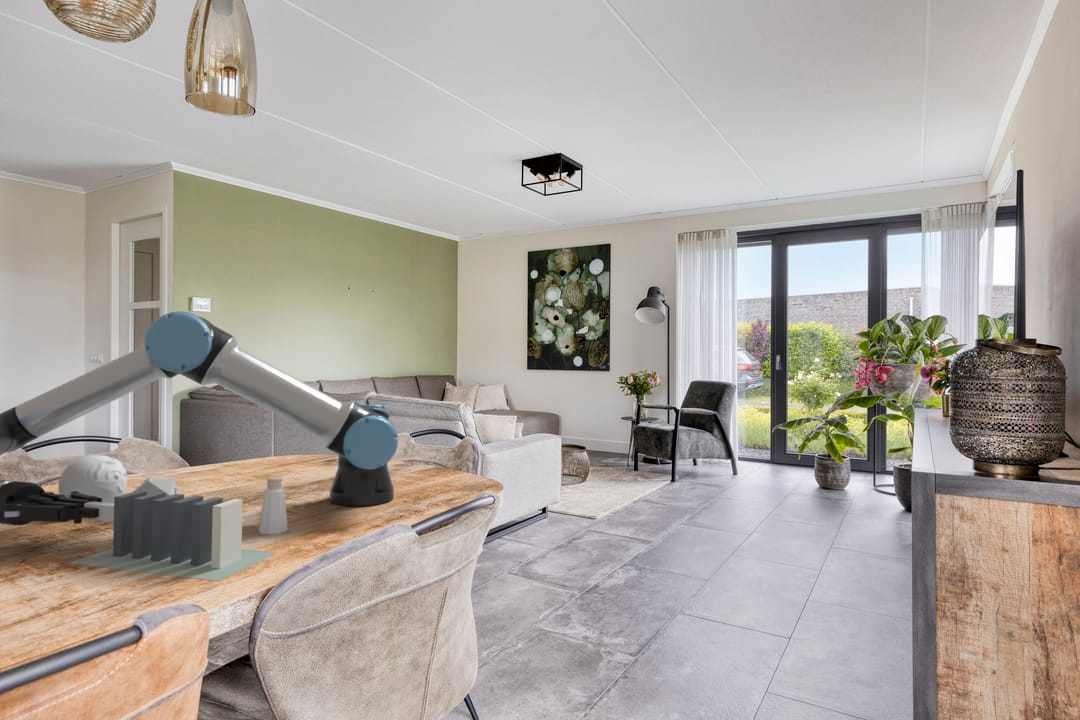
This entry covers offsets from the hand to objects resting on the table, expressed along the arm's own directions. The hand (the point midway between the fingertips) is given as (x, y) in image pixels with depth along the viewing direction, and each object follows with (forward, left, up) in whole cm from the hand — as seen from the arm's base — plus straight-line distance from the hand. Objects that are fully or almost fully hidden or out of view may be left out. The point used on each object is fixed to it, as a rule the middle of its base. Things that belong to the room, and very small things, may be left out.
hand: (118, 513), depth 104 cm
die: (+6, -27, -8) cm, 29 cm away
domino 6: (-20, +7, -7) cm, 22 cm away
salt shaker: (-22, -12, -8) cm, 26 cm away
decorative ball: (+20, -30, -8) cm, 37 cm away
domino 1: (-2, 0, -7) cm, 7 cm away
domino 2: (-6, +2, -7) cm, 9 cm away
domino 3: (-9, +3, -7) cm, 12 cm away
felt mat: (-11, +4, -7) cm, 14 cm away
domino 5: (-16, +5, -7) cm, 18 cm away
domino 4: (-13, +4, -7) cm, 15 cm away
